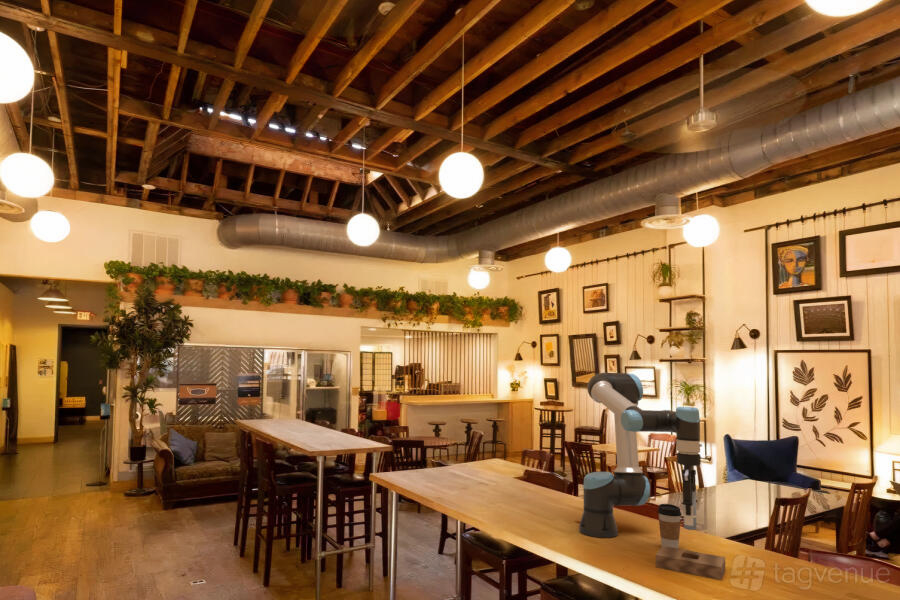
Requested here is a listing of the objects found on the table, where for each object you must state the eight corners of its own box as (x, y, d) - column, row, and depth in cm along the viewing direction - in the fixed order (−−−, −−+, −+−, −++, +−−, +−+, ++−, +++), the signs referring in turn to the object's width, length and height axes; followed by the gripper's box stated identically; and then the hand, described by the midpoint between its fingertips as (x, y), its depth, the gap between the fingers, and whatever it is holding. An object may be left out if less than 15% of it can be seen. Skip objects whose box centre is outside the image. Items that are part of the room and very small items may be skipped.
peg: (682, 528, 190) (681, 491, 191) (684, 526, 193) (683, 489, 195) (695, 530, 187) (695, 493, 189) (697, 528, 191) (696, 491, 192)
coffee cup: (676, 544, 215) (675, 503, 217) (686, 551, 207) (685, 509, 209) (654, 543, 215) (654, 503, 217) (663, 551, 207) (663, 508, 208)
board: (655, 567, 189) (655, 554, 189) (662, 557, 199) (662, 545, 199) (721, 580, 179) (721, 567, 179) (725, 569, 189) (725, 557, 189)
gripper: (696, 456, 184) (698, 531, 181) (703, 451, 199) (705, 520, 196) (672, 454, 188) (673, 527, 185) (680, 449, 203) (682, 516, 200)
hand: (690, 523), depth 190 cm, fingers closed on peg, 4 cm apart
